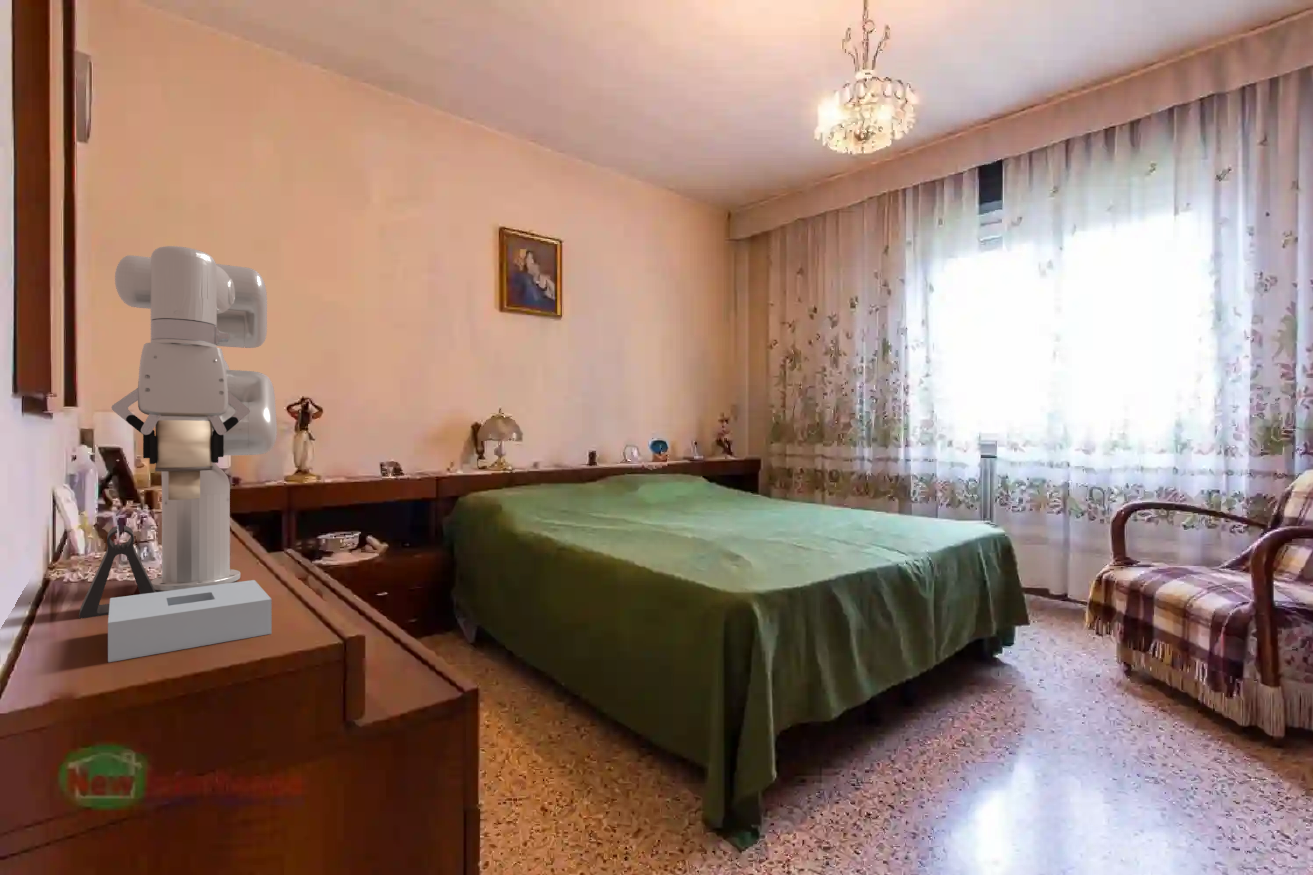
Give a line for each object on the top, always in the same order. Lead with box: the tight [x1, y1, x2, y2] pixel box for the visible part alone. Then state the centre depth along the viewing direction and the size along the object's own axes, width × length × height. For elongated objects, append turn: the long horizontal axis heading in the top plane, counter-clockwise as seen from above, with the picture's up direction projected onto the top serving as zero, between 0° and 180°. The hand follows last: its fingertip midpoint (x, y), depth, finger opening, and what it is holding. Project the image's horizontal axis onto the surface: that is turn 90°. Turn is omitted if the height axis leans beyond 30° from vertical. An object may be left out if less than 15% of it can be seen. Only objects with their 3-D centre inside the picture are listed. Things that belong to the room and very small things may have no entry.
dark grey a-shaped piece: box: [78, 525, 157, 619], centre depth 93 cm, size 9×6×12 cm, turn 130°
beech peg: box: [154, 420, 212, 500], centre depth 89 cm, size 6×6×11 cm
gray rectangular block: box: [107, 579, 273, 663], centre depth 82 cm, size 14×16×4 cm
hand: (184, 462), depth 89 cm, fingers closed on beech peg, 6 cm apart
